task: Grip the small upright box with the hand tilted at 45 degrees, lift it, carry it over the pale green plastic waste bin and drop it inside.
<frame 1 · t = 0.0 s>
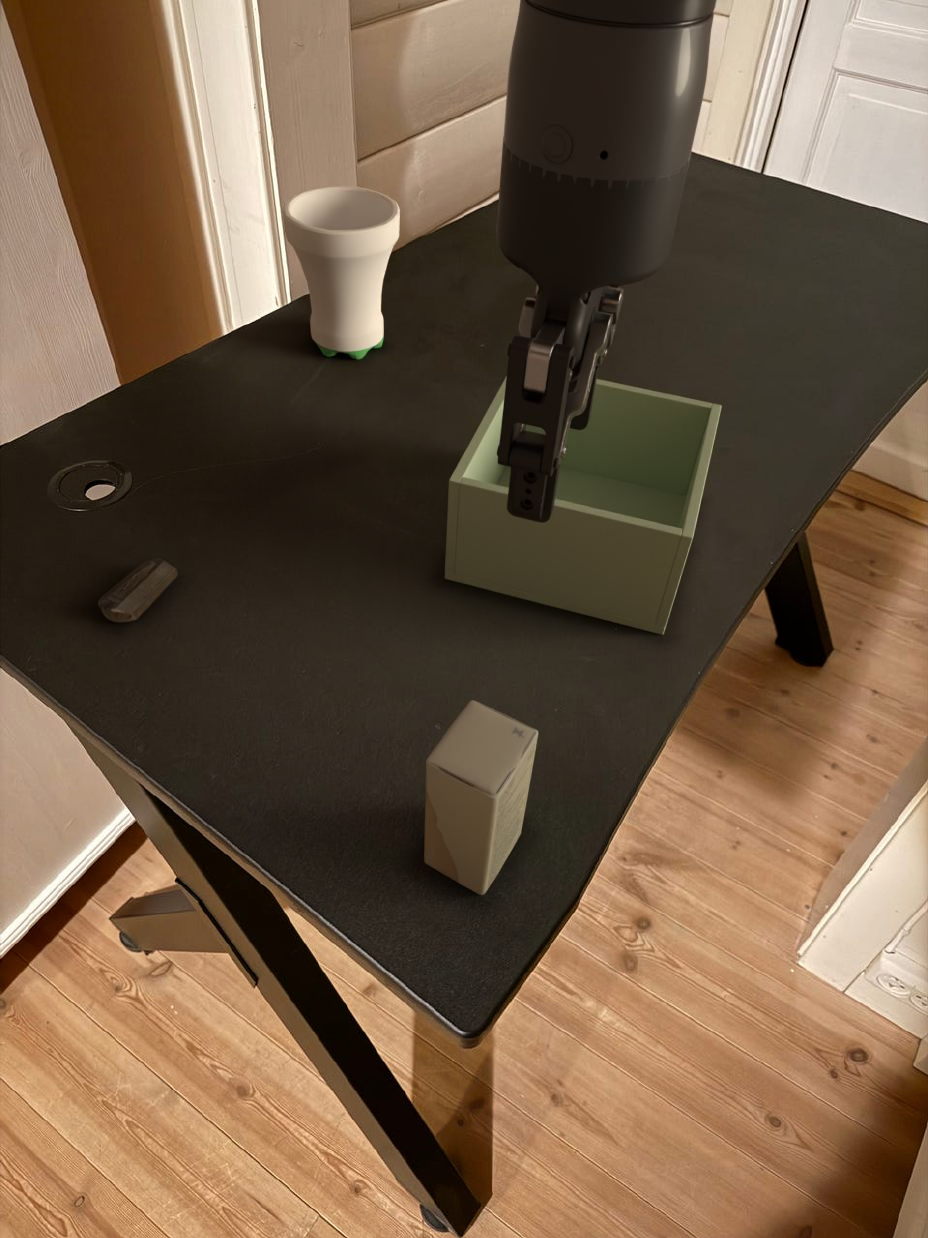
hand: (549, 466, 48), 21 cm above the table, tool pointing down, fingers open, 8 cm apart
block: (138, 599, 69), on the table
cup: (348, 345, 97), on the table
box: (472, 851, 56), on the table
bin: (576, 537, 76), on the table
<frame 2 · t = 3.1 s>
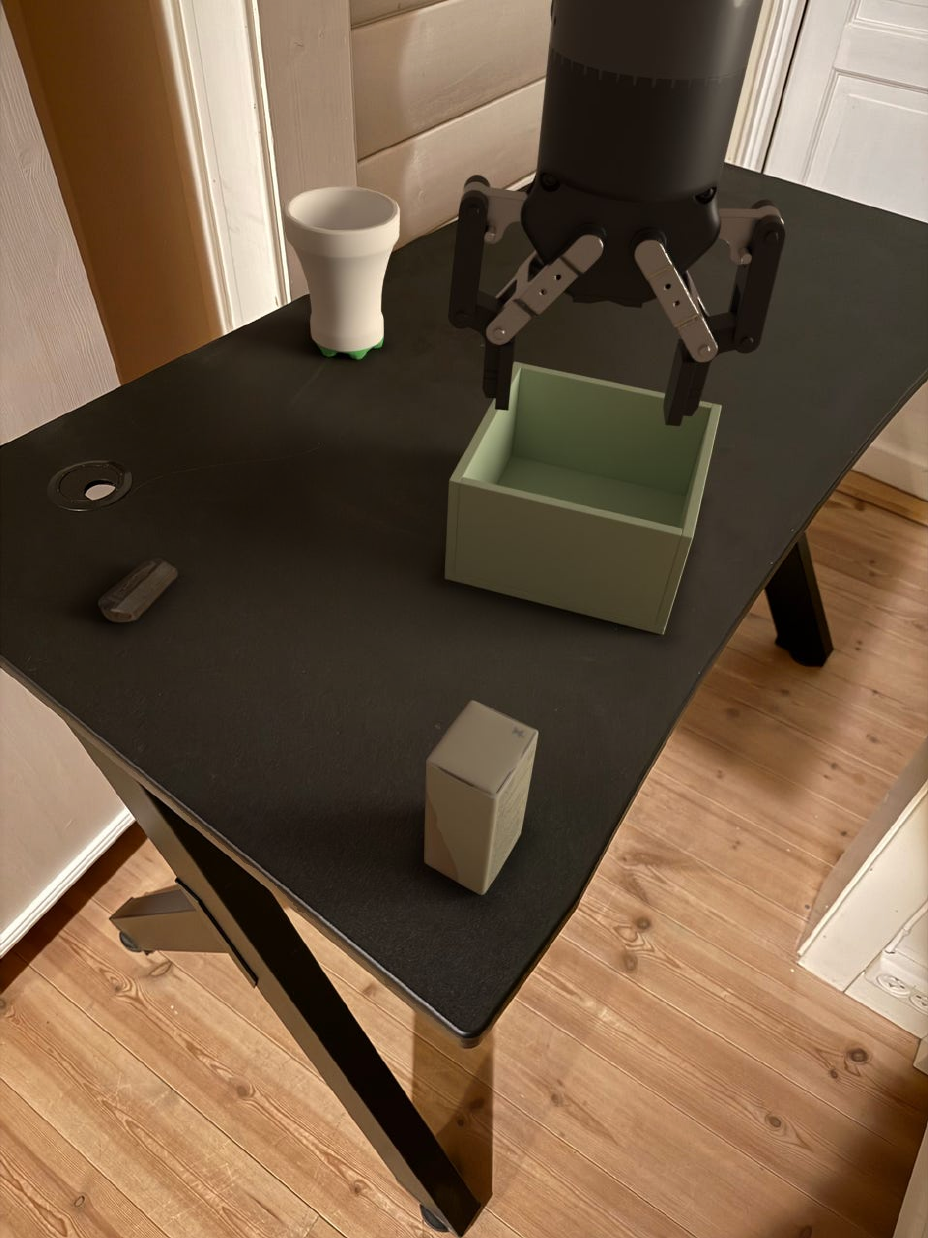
hand: (587, 409, 46), 24 cm above the table, tool pointing down, fingers open, 8 cm apart
nothing on the table moved.
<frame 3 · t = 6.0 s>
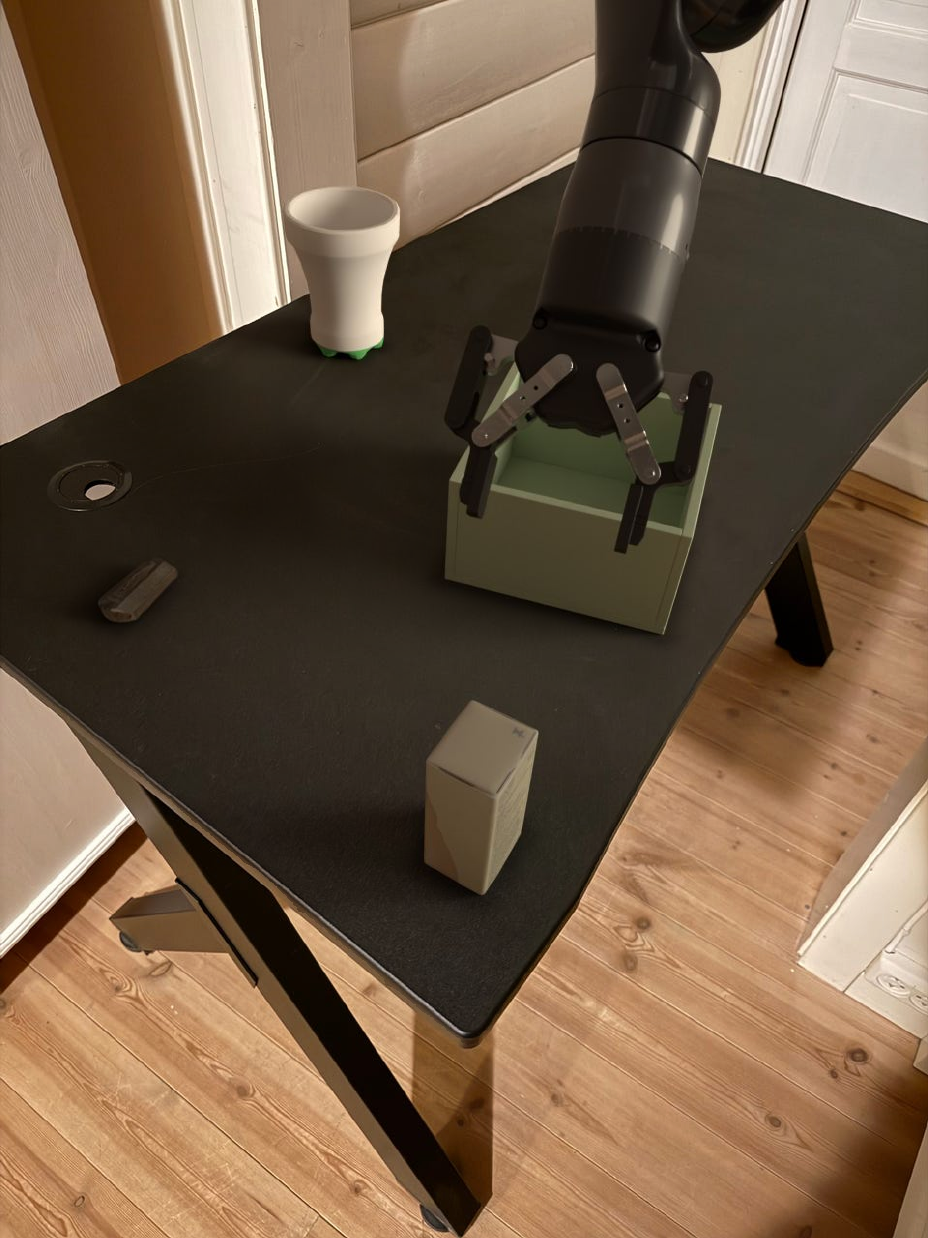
hand: (546, 534, 51), 16 cm above the table, tool tilted 45°, fingers open, 8 cm apart
nothing on the table moved.
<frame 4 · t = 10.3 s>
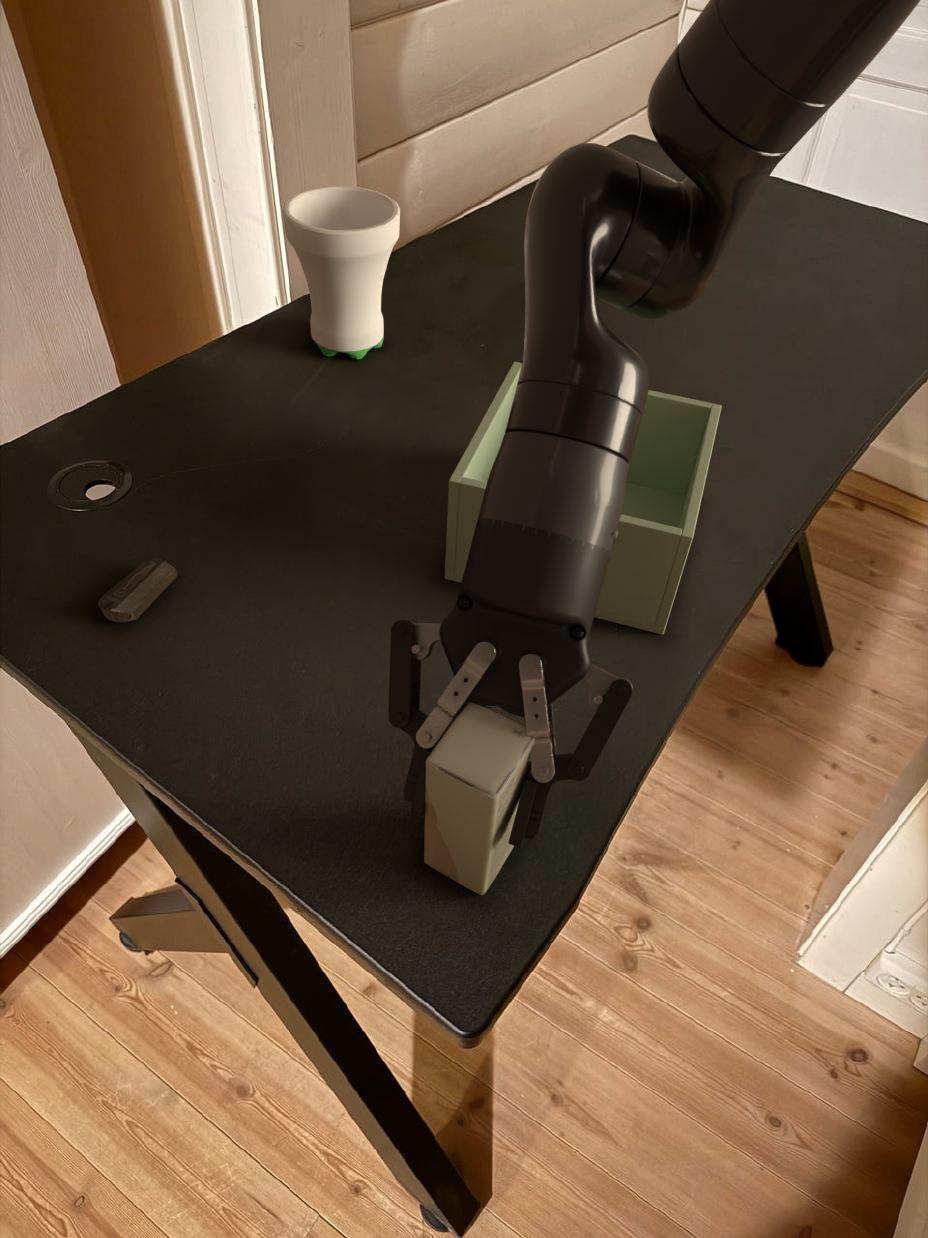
hand: (468, 826, 50), 6 cm above the table, tool tilted 45°, fingers closed on box, 5 cm apart
box: (472, 851, 56), on the table, touching gripper
everything else where it was.
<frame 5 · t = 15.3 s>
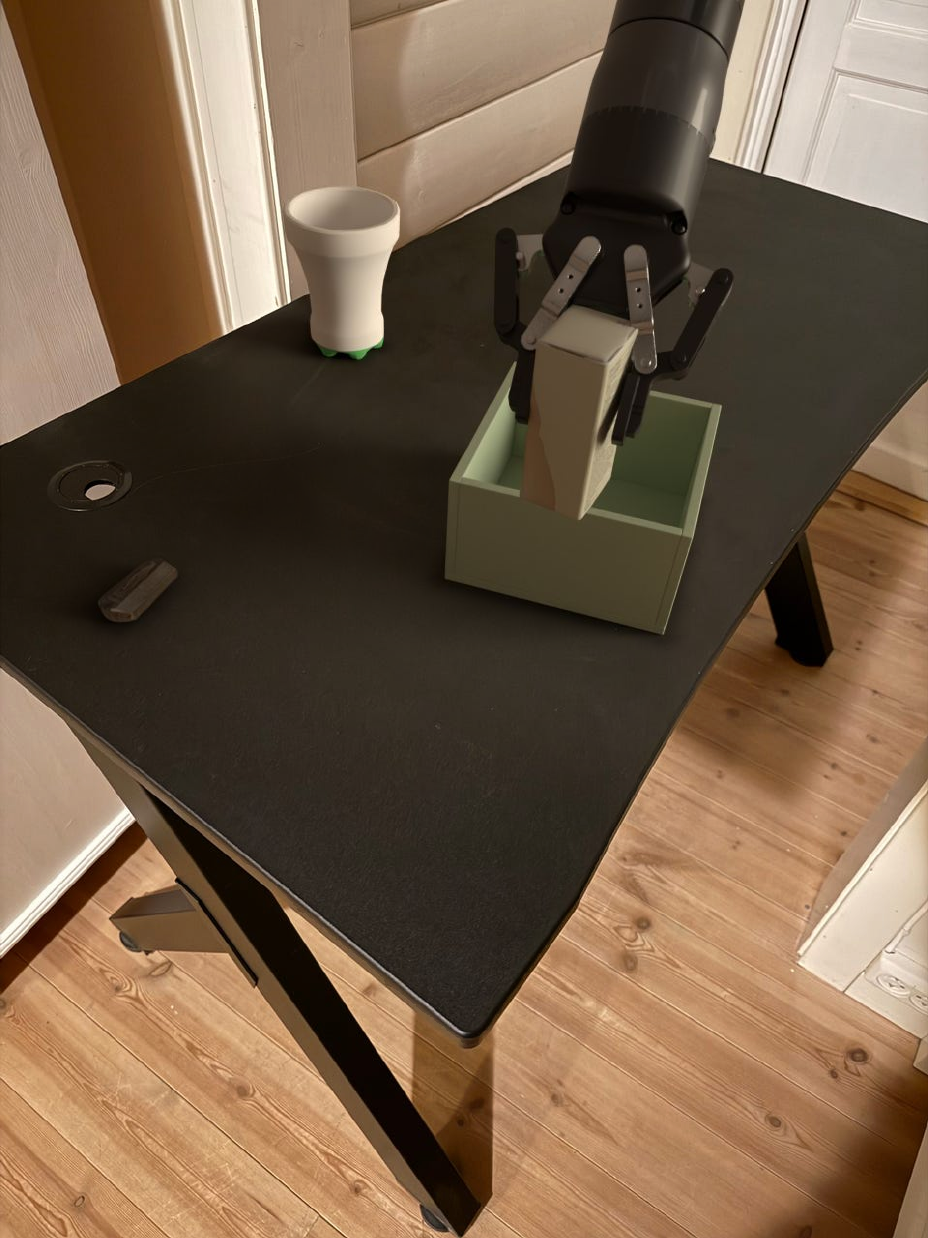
hand: (569, 430, 52), 20 cm above the table, tool tilted 45°, fingers closed on box, 5 cm apart
box: (564, 492, 57), point 14 cm above the table, touching gripper
everything else where it was.
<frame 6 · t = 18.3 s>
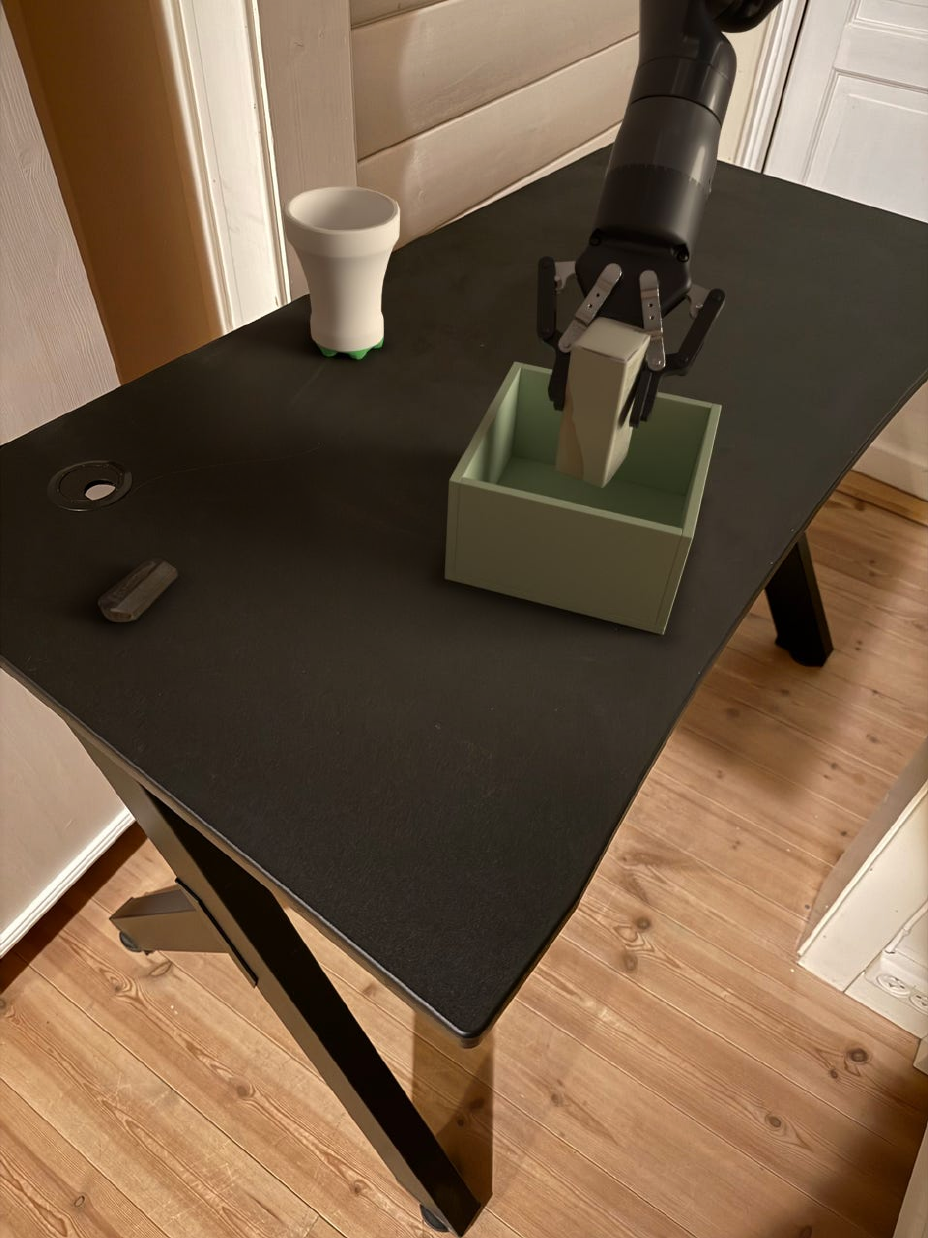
hand: (596, 416, 66), 13 cm above the table, tool tilted 45°, fingers closed on box, 5 cm apart
box: (590, 466, 71), point 7 cm above the table, touching gripper
everything else where it was.
when the fingers open (6 cm above the table, at t = 20.5 s): box stays where it is, resting on bin.
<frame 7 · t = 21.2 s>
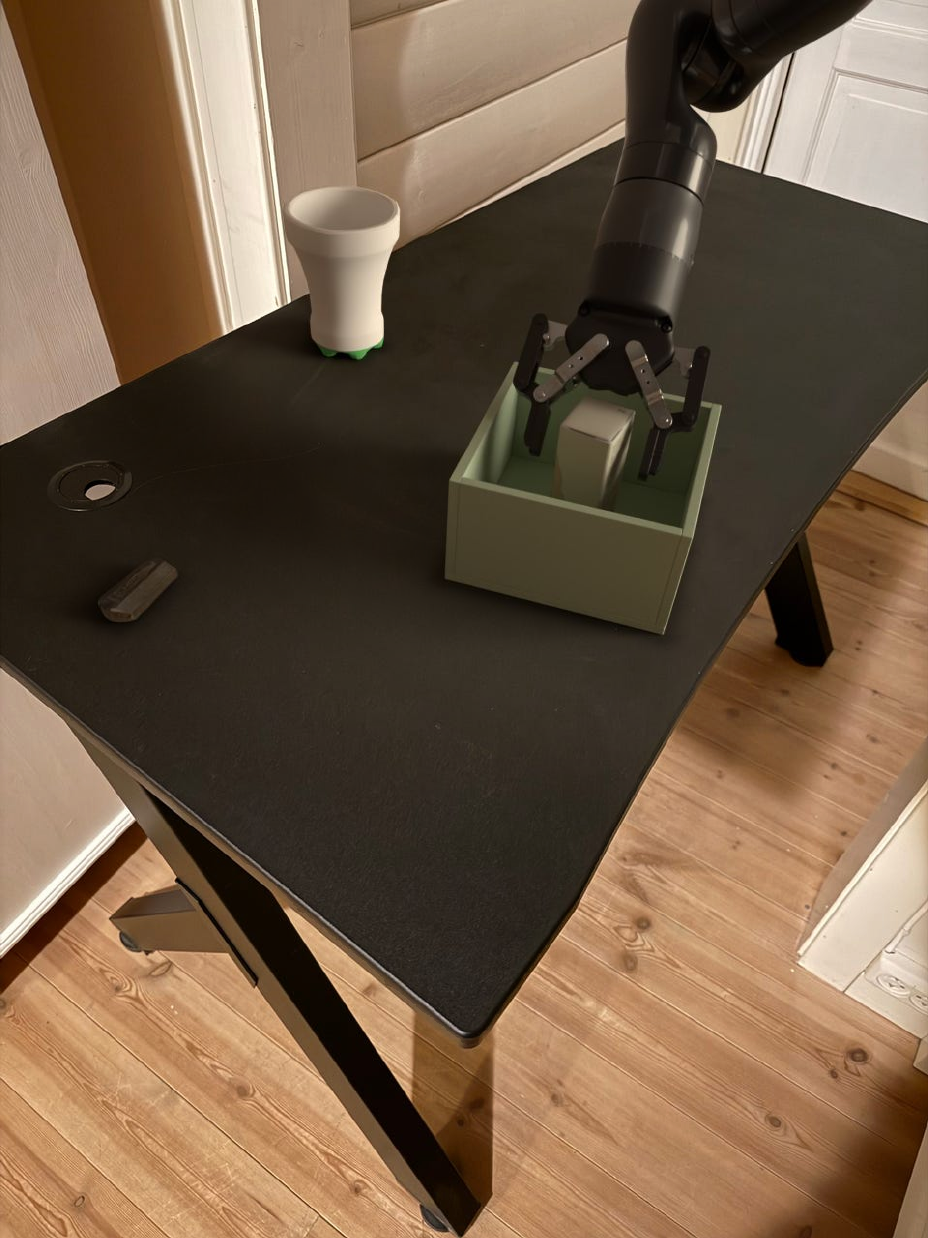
hand: (587, 466, 70), 8 cm above the table, tool tilted 45°, fingers open, 8 cm apart
box: (578, 530, 76), point 1 cm above the table, touching bin
everything else where it was.
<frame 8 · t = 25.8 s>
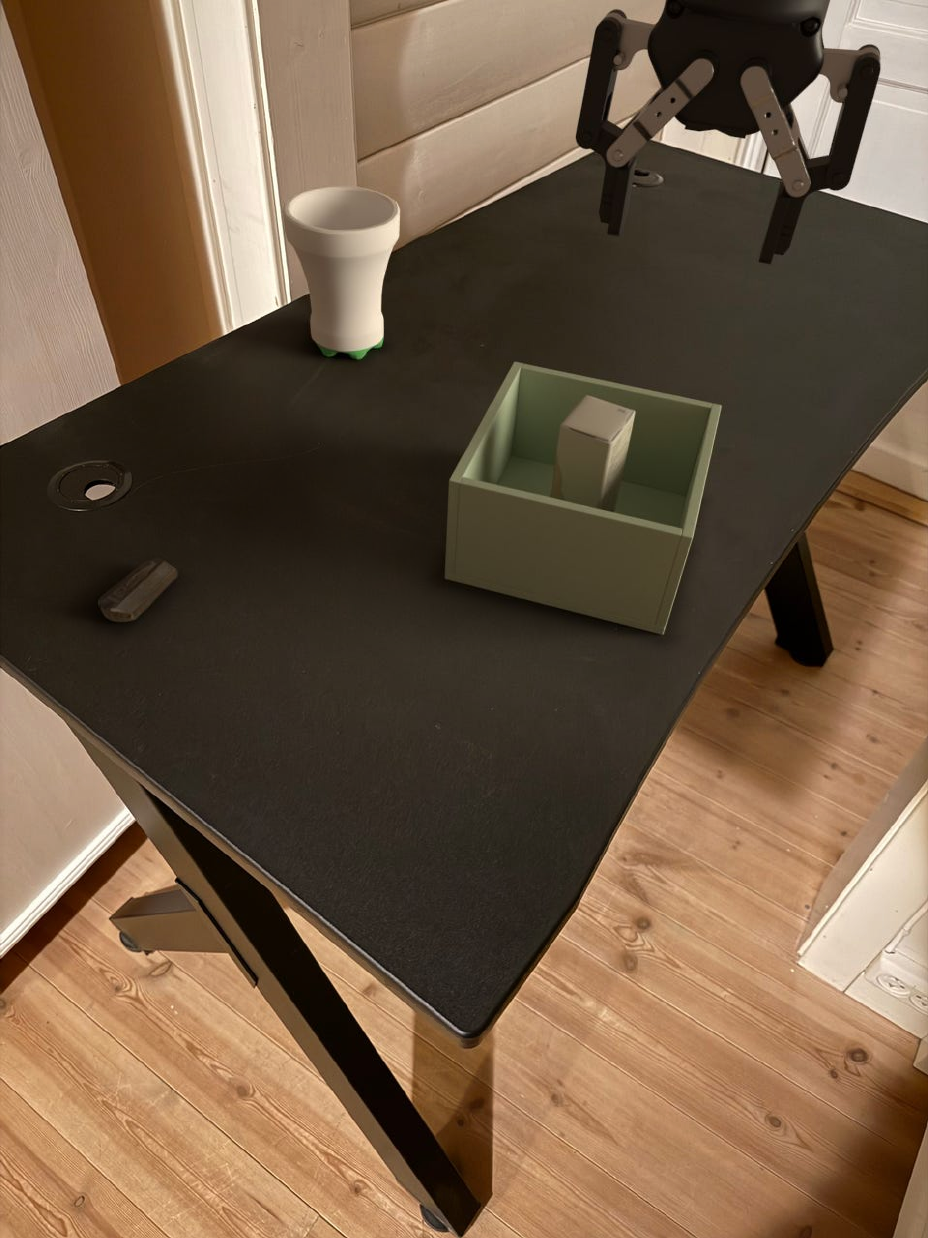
hand: (690, 244, 51), 28 cm above the table, tool pointing down, fingers open, 8 cm apart
nothing on the table moved.
at the end: box inside the target area in the bin (0.2 cm from its centre), point 0.6 cm above the bin's base; the gripper is holding nothing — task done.
